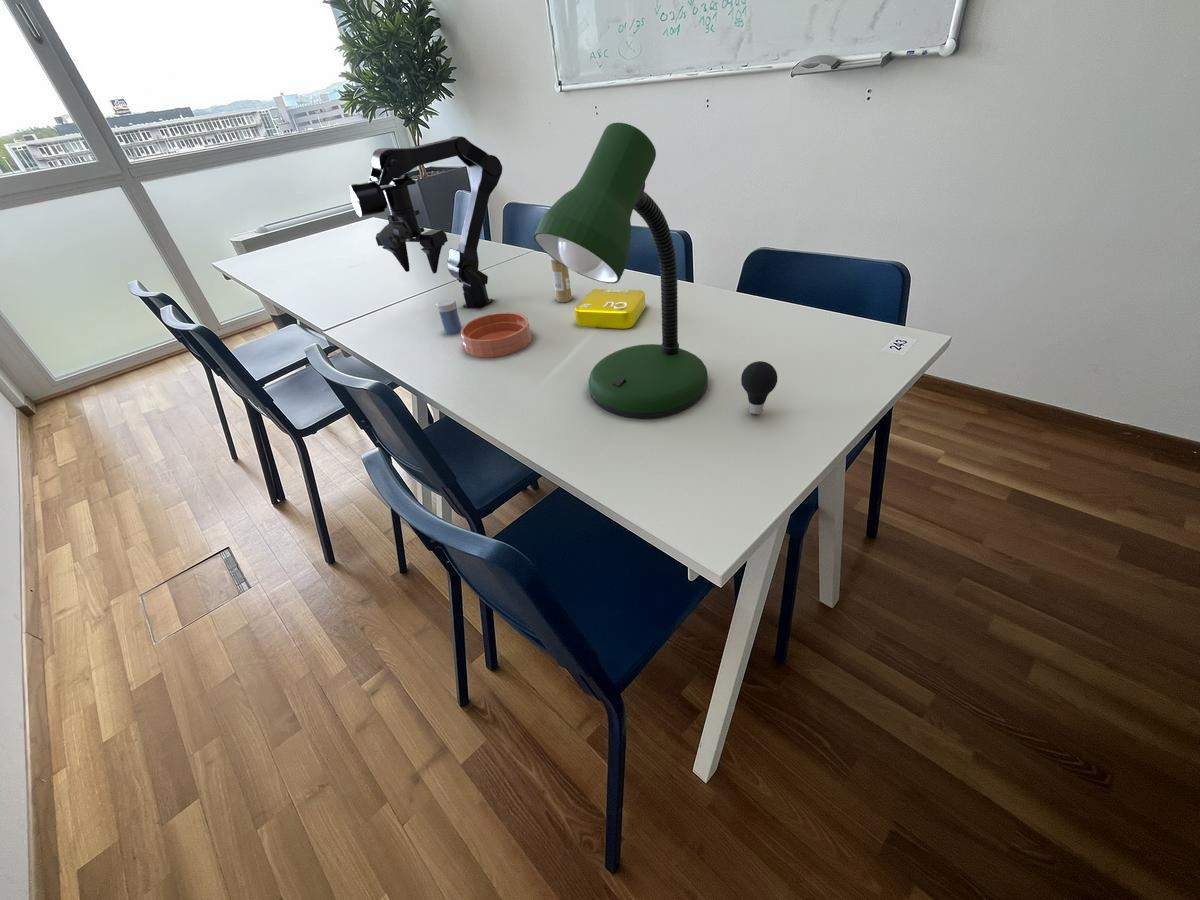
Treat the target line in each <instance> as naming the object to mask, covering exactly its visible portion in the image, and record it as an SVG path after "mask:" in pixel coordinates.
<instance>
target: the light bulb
mask: <svg viewBox="0 0 1200 900" xmlns="http://www.w3.org/2000/svg"><path fill="white" fill-rule="evenodd" d="M740 378H741V379H740V383H741V386H742V388H743V390H744V391H745V392H746V394H747V400H748V411H749V413H751V414H753V415H755V416H757V415H759V414H762V413H763V411H764V407H765V403H766V401H767V398H768V397H769V394H770V393H771V392H773V391H774V390H775V388H776V386H777V384H778V372H777V370H776V369H775V367H774V366H773V365H772V364H771V363H769V362H767V361H762V360H758V361H754V362H751V363H749V364H748V365H747V366H746V367H745V368H744V369H743V371H742V372H741V377H740Z"/></svg>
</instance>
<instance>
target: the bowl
mask: <svg viewBox="0 0 1200 900" xmlns="http://www.w3.org/2000/svg"><path fill="white" fill-rule="evenodd" d="M460 336H461V340H462V344H463V348H464V351H465V352H466V354H468V355H470V356H473V357H476V358H481V359H488V358H489V359H490V358H499V357H504V356H505V357H506V356H508V355H511V354H514V353H517V352H519V351H521V350H523V349H525V348H526V347H527V346H528V345H530V343H531V341H532V339H533V337H532V332H531V327H530V321H529V318H528V317H526V316H525V315H524V314H520V313H517V312H496V313H490V314H486V315H483V316H480V317H477V318H474V319H472V320H470V321H469V322H467V323H465V324H464V325H463V326H462V329H461V332H460Z"/></svg>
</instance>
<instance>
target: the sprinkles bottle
mask: <svg viewBox="0 0 1200 900" xmlns="http://www.w3.org/2000/svg"><path fill="white" fill-rule="evenodd" d="M549 260H550V263H551V270H552V279H553V284H554V290H555V295H556V302H558V303H568V302H570V301H572V300H573V295H572V289H571V280H570V273H569V268H567V267H565V266H564V265H562V264H561V263H559V262H558V261H556V260H555V259H553V258H552V257H551V256H550V255H549Z"/></svg>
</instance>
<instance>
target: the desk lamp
mask: <svg viewBox="0 0 1200 900" xmlns="http://www.w3.org/2000/svg"><path fill="white" fill-rule="evenodd" d="M602 132H603V133H602V134H601V136H600V139H599V141H598V142H597V145H596V147H595V149H594V151H593V153H592V154H591V158H590V159H589V161H588V163H587V166H586V168H585V170H584V171H583V173H582V176H581V177H580V179H579V180H578V182H577V183H576V185H575V186H574V187H573V188H572V189H570V190H568V191H567V192H566V193H564V194H563V195H561V196H560V198H558V199H557V200H556V202H555V203H554V204H552V205H551V207H549V209H548V210H547V211H546V212H545V213H544V214H543V215H542V217H541V219H540V221H539V223H538V225H537V227H536V229H535V232H534V234H533V241H535V243H536V244H537V245H538V246H539V247H540V249H541V250H542V251H544V252H545V254H547V255H548V256H549V257H550V256H551V257H552V258H553V259H555V260H556V261H558V262H559V263H561V264H562V265H564V266H565V267H567V268H568V270H570V271H572V272H574V273H576V274H578V275H580V276H583V277H585V278H588V279H591V280H593V281H596V282H599V283H600V282H601V283H604V284H605V283H606V284H617V283H619V282H620V280H621V278H622V276H623V274H624V271H625V269H626V268H627V266H628V260H629V254H630V253H629V252H630V247H631V239H632V238H631V237H632V223H631V218H632V214H633V211H635V212H636V213H637V214H638V215H639V216H640V217H641V218H642V219H643V221H644V222H645V224H646V225H647V228H648V229H649V231H650V233H651V236H652V238H653V241H654V245H655V250H656V252H657V257H658V264H659V271H660V272H659V273H660V274H659V275H660V305H661V340H662V343H661V344H658V343H657V344H655V343H650V344H649V343H647V344H637V345H632V346H628V347H624V348H621V349H619V350H616V351H614V352H611V353H610V354H608V355H606V356H605V357H603V358H602V359H600V360H599V361H598V362H597V363H596V364H595V365H594V367H593V368H592V370H591V371H590V372H589V373H590V374H589V378H588V389H589V394H590V397H591V399H592V400H593V402H594V403H595V404H597V405H598V406H599V407H600V408H602V409H603V410H606V411H607V412H609V413H612V414H615V415H617V416H621V417H626V418H630V419H639V420H640V419H641V420H648V419H649V420H651V419H653V420H655V419H661V418H665V417H670V416H673V415H677V414H679V413H681V412H683V411H685V410H687V409H689V408H691V407H692V406H694V405H695V404H697V403H698V402H699V401H700V400H701V399H702V398H703V397H704V396H705V394H706V392H707V390H708V381H709V376H708V369H707V366H706V365H705V363H704V362H703V360H702V359H701V358H700V357H698V356H697V355H696V354H694V353H692V352H690V351H688V350H685V349H683V348H681V347H680V344H679V337H678V336H679V334H678V333H679V330H678V329H679V323H678V322H679V321H678V320H679V319H678V317H679V316H678V314H679V313H678V311H679V310H678V306H679V302H678V301H679V299H678V266H677V257H676V249H675V245H674V240H673V237H672V233H671V229H670V227H669V224H668V221H667V219H666V216H665V215H664V213H663V211H662V210H661V208H660V207H659V205H658V204H657V203H656V201H655V200H654V199H653V198H652V197H651V196H650V195H649V194H648V193H647V192H646V191H645V188H646V180H647V178H648V176H649V174H650V172H651V170H652V167H653V166H654V163H655V161H656V159H657V158H656V157H657V152H656V147H655V145H654V143H653V142H652V141H651V139H650V138H649V137H648V135H646V133H645V132H643V131H642V130H641V129H639V128H637V127H636V126H634V125H632V124H630V123H629V124H628V123H625V122H612V123H609V124H608V125H606V127H605V129H604V131H602Z"/></svg>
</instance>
